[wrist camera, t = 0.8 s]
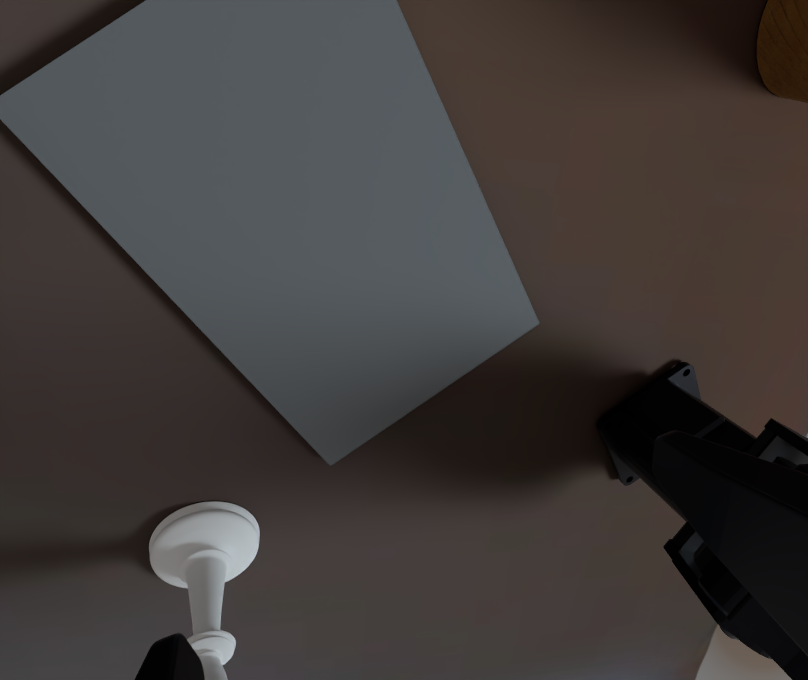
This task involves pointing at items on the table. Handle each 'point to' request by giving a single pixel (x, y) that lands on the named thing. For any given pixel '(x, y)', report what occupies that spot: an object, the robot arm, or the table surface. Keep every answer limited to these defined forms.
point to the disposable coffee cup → (784, 48)
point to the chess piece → (205, 569)
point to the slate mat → (287, 198)
